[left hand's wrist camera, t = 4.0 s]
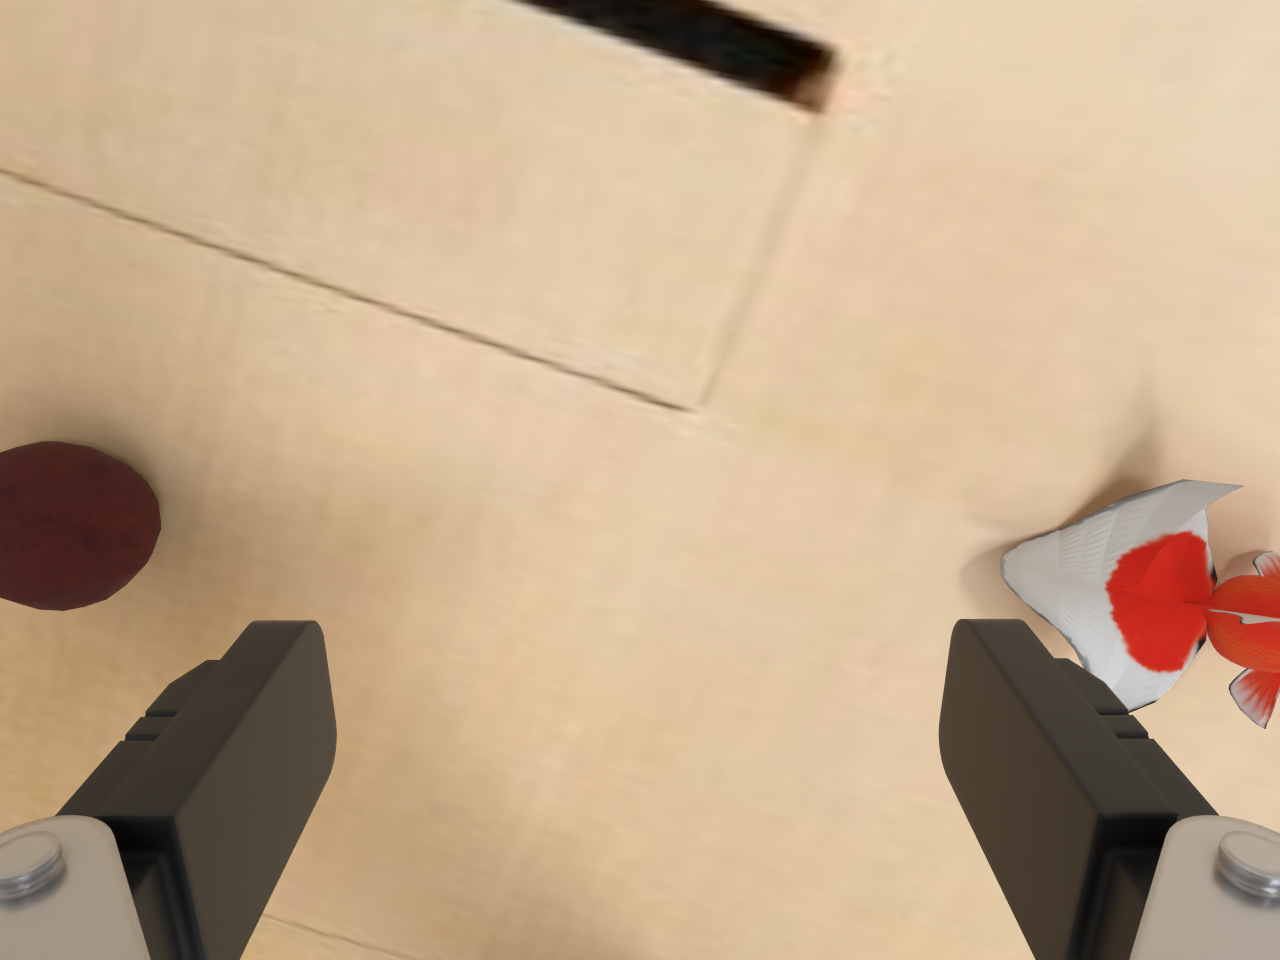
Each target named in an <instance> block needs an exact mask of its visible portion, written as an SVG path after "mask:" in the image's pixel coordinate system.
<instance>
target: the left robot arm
mask: <svg viewBox="0 0 1280 960" xmlns="http://www.w3.org/2000/svg"><path fill="white" fill-rule="evenodd" d="M125 736H126V737H125V741H120V742H119V743H118V744H117V745H116V746H115V747H114V749H113V750H112V751H111V752H110V753H109V754H108V755H107V757H106V758H105V759H104V760H103V761H102V762H101V764H100V765H99V766H98V767H97V768H96V769H95V770H94V772H93V773H92V774H91V775H90V776H89V777H88V779H87V780H86V781H85V782H84V783H83V784H82V785H81V787H80V788H79V789H78V790H77V791H76V792H75V794H74V795H73V796H72V797H71V798H70V799H69V800H68V802H67V803H66V804H65V805H64V806H63V807H62V808H61V810H60V811H59V812H58V813H57V814H56V815H55V817H48V818H44V819H40V820H35V821H32V822H29V823H25V824H22V825H19V826H17V827H14V828H12V829H9V830H7V831H4V832H2V833H0V960H240V958H241V956H242V954H243V952H244V949H245V947H246V945H247V943H248V941H249V939H250V937H251V935H252V933H253V931H254V929H255V927H256V925H257V923H258V921H259V919H260V917H261V915H262V913H263V911H264V909H265V907H266V905H267V903H268V900H269V898H270V896H271V894H272V892H273V890H274V888H275V886H276V884H277V882H278V880H279V878H280V876H281V874H282V872H283V870H284V868H285V866H286V864H287V862H288V860H289V858H290V856H291V853H292V851H293V849H294V847H295V845H296V843H297V841H298V839H299V837H300V835H301V833H302V831H303V829H304V827H305V825H306V823H307V821H308V819H309V817H310V815H311V813H312V811H313V809H314V807H315V804H316V802H317V800H318V798H319V796H320V794H321V792H322V790H323V788H324V786H325V784H326V782H327V780H328V778H329V775H330V773H331V770H332V766H333V762H334V757H335V751H336V739H337V730H336V720H335V713H334V706H333V698H332V691H331V684H330V677H329V670H328V663H327V656H326V649H325V642H324V636H323V632H322V629H321V627H320V625H319V624H318V623H317V622H316V621H253V622H252V623H250V624H249V625H248V626H247V628H246V629H245V630H244V631H243V632H242V634H241V635H240V636H239V637H238V639H237V640H236V641H235V642H234V644H233V645H232V646H231V647H230V649H229V650H228V651H227V652H226V653H225V655H224V656H223V657H222V658H221V660H206V661H205V662H203V663H202V664H200V665H199V666H197V667H195V668H194V669H192V670H191V671H189V672H188V673H186V674H184V675H183V676H181V677H180V678H178V679H176V680H175V681H173V682H172V683H170V684H169V685H168V686H167V687H166V689H165V690H164V691H163V692H162V693H161V694H160V696H159V697H158V698H157V699H156V700H155V701H154V702H153V704H152V705H151V706H150V707H149V708H148V709H147V711H146V715H145V717H140V719H139V720H138V721H137V722H136V723H135V724H134V726H133V727H132V728H131V729H130V730H129V731H128V732H127V734H126V735H125ZM939 746H940V753H941V759H942V763H943V767H944V770H945V773H946V775H947V777H948V780H949V782H950V784H951V786H952V788H953V790H954V792H955V794H956V796H957V798H958V800H959V802H960V804H961V806H962V808H963V811H964V813H965V815H966V817H967V819H968V821H969V823H970V825H971V827H972V829H973V831H974V833H975V835H976V837H977V839H978V842H979V844H980V846H981V848H982V850H983V852H984V854H985V856H986V858H987V860H988V862H989V864H990V866H991V868H992V871H993V873H994V875H995V877H996V879H997V881H998V883H999V885H1000V887H1001V889H1002V891H1003V893H1004V895H1005V897H1006V899H1007V902H1008V904H1009V906H1010V908H1011V910H1012V912H1013V914H1014V916H1015V918H1016V920H1017V922H1018V924H1019V926H1020V928H1021V930H1022V933H1023V935H1024V937H1025V939H1026V941H1027V943H1028V945H1029V947H1030V949H1031V951H1032V953H1033V955H1034V957H1035V959H1036V960H1280V833H1278V832H1276V831H1273V830H1271V829H1268V828H1266V827H1263V826H1261V825H1258V824H1255V823H1251V822H1248V821H1245V820H1240V819H1236V818H1232V817H1225V816H1219V815H1218V813H1217V812H1216V811H1215V810H1214V809H1213V808H1212V806H1211V805H1210V804H1209V803H1208V802H1207V801H1206V799H1205V798H1204V797H1203V796H1202V795H1201V794H1200V792H1199V791H1198V790H1197V789H1196V788H1195V787H1194V785H1193V784H1192V783H1191V782H1190V781H1189V780H1188V778H1187V777H1186V776H1185V775H1184V774H1183V773H1182V772H1181V770H1180V769H1179V768H1178V767H1177V766H1176V765H1175V763H1174V762H1173V761H1172V760H1171V759H1170V758H1169V756H1168V755H1167V754H1166V753H1165V752H1164V751H1163V749H1162V748H1161V747H1160V746H1159V745H1158V744H1157V742H1156V741H1155V740H1154V739H1149V737H1148V732H1147V731H1146V730H1145V728H1144V727H1143V726H1142V725H1141V724H1140V723H1139V721H1138V720H1137V719H1136V718H1135V717H1134V716H1133V715H1129V714H1128V709H1127V708H1126V706H1125V705H1124V704H1123V703H1122V702H1121V701H1120V699H1119V698H1118V697H1117V696H1116V695H1115V694H1114V692H1113V691H1112V690H1111V689H1110V688H1109V687H1108V685H1107V684H1106V683H1105V682H1104V681H1102V680H1101V679H1099V678H1097V677H1096V676H1094V675H1093V674H1091V673H1090V672H1088V671H1086V670H1085V669H1083V668H1082V667H1080V666H1079V665H1077V664H1075V663H1074V662H1072V661H1071V660H1069V659H1068V658H1053V656H1052V655H1051V654H1050V653H1049V651H1048V650H1047V649H1046V648H1045V646H1044V645H1043V644H1042V643H1041V641H1040V640H1039V639H1038V638H1037V636H1036V635H1035V634H1034V633H1033V631H1032V630H1031V629H1030V628H1029V626H1028V625H1027V624H1026V623H1025V622H1024V621H1022V620H1020V619H960V620H959V621H957V623H956V624H955V626H954V628H953V632H952V636H951V642H950V649H949V656H948V664H947V671H946V678H945V685H944V692H943V700H942V707H941V714H940V722H939Z"/></svg>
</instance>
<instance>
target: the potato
mask: <svg viewBox="0 0 1280 960" xmlns="http://www.w3.org/2000/svg"><path fill="white" fill-rule="evenodd" d="M160 530H161V520H160V513H159V505H158V500H157V498H156V497H155V495H154V493H153V491H152V490H151V488H150V486H149V485H148V483H147V482H146V481H145V480H144V479H143V478H142V477H141V476H140V475H139V474H137V473H136V472H135V471H134V470H133V469H132V468H131V467H130V466H128V465H126V464H124V463H122V462H120V461H118V460H116V459H114V458H112V457H109V456H107V455H105V454H103V453H101V452H99V451H97V450H95V449H93V448H91V447H86V446H80V445H74V444H69V443H63V442H39V443H34V444H29V445H25V446H20V447H16V448H13V449H10V450H7V451H4V452H1V453H0V598H3V599H6V600H9V601H13V602H16V603H19V604H22V605H26V606H29V607H33V608H36V609H42V610H58V611H65V610H70V609H75V608H80V607H85V606H88V605H91V604H94V603H97V602H100V601H103V600H106V599H108V598H109V597H110V596H112V595H113V594H114V593H116V592H117V591H119V590H120V589H121V588H123V587H124V586H125V585H126V584H127V583H128V582H129V581H130V580H131V579H132V578H133V577H134V576H135V575H136V574H137V573H138V572H139V571H140V570H141V569H142V568H143V567H144V566H145V565H146V564H147V562H148V560H149V558H150V557H151V555H152V553H153V550H154V547H155V544H156V541H157V539H158V536H159V533H160Z"/></svg>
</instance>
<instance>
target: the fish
mask: <svg viewBox="0 0 1280 960" xmlns="http://www.w3.org/2000/svg"><path fill="white" fill-rule="evenodd" d="M1241 487H1244V486H1240V485H1231V484H1221V483H1212V482H1203V481H1193V480H1184V479H1183V480H1180V481H1176V482H1173V483H1170V484H1166V485H1163V486H1160V487H1157V488H1153V489H1150V490H1147V491H1143V492H1140V493H1137V494H1134V495H1130V496H1127V497H1125V498H1123V499H1121V500H1118V501H1116V502H1114V503H1112V504H1110V505H1108V506H1106V507H1104V508H1102V509H1100V510H1098V511H1096V512H1094V513H1092V514H1090V515H1088V516H1086V517H1084V518H1082V519H1080V520H1078V521H1076V522H1074V523H1072V524H1070V525H1068V526H1066V527H1064V528H1062V529H1060V530H1057V531H1053V532H1050V533H1047V534H1043V535H1040V536H1037V537H1035V538H1033V539H1030V540H1028V541H1025V542H1023V543H1021V544H1019V545H1017V546H1015V547H1014V548H1012V549H1010V550H1008V551H1007V552H1006V553H1005V554H1004V555H1003V556H1002V557H1001V577H1002V578H1003V580H1004V581H1005V582H1006V584H1007V585H1008V586H1009V588H1010V589H1011V590H1012V591H1013V592H1014V593H1015V594H1016V595H1017V596H1018V597H1019V598H1020V599H1021V600H1022V601H1023V602H1025V603H1026V604H1027V605H1028V606H1029V607H1030V608H1031V609H1033V610H1034V611H1035V612H1036V613H1037V614H1038V615H1039V616H1041V617H1042V618H1043V619H1045V620H1046V621H1047V622H1048V623H1050V624H1051V625H1052V626H1054V627H1055V628H1056V629H1058V630H1059V631H1060V633H1061V634H1062V635H1063V636H1064V638H1065V639H1066V640H1067V641H1068V642H1069V644H1070V645H1071V646H1072V647H1073V648H1074V650H1075V652H1076V654H1077V656H1078V658H1079V660H1080V662H1081V664H1082V665H1083V667H1084V669H1085V670H1086V671H1088V672H1090V673H1091V674H1093V675H1094V676H1096V677H1097V678H1099V679H1101V680H1102V681H1104V682H1105V683H1106V684H1107V685H1108V687H1109V688H1110V689H1111V690H1112V691H1113V692H1114V694H1115V695H1116V696H1117V697H1118V698H1119V699H1120V701H1121V702H1122V703H1123V704H1124V705H1125V706H1126V708H1127V709H1128V713H1130V712H1133V711H1135V710H1137V709H1140V708H1142V707H1145V706H1147V705H1150V704H1152V703H1154V702H1156V701H1157V700H1158V699H1159V698H1160V697H1161V696H1163V695H1164V694H1165V693H1166V692H1167V691H1168V690H1169V689H1170V688H1171V687H1172V686H1173V685H1174V684H1175V682H1176V681H1177V680H1178V678H1179V677H1180V676H1181V675H1182V673H1183V672H1184V671H1185V669H1186V668H1187V666H1188V665H1189V664H1190V662H1191V661H1192V660H1193V658H1194V657H1195V655H1196V654H1197V653H1198V651H1199V650H1200V648H1201V647H1202V645H1203V644H1204V643H1205V641H1206V634H1207V633H1208V637H1209V639H1210V641H1211V643H1212V645H1213V646H1214V648H1215V649H1216V651H1217V652H1218V653H1219V654H1220V655H1222V656H1223V657H1224V658H1226V659H1228V660H1229V661H1231V662H1233V663H1235V664H1237V665H1240V666H1242V667H1245V668H1247V669H1245V670H1244V671H1243V672H1242V673H1241V674H1239V675H1238V676H1237V677H1236V678H1235V679H1234V680H1233V681H1232V682H1231V684H1230V685H1229V691H1230V694H1231V695H1232V697H1233V699H1234V700H1235V702H1236V704H1237V705H1238V707H1239V708H1240V710H1241V711H1242V712H1244V713H1245V714H1246V715H1247V716H1248V717H1249V718H1250V719H1251V720H1252V721H1253V722H1255V723H1256V724H1257V725H1259V726H1261V727H1263V728H1264V729H1266V725H1267V723H1268V721H1269V719H1270V717H1271V714H1272V712H1273V709H1274V707H1275V703H1276V699H1277V697H1278V695H1279V692H1280V555H1278V554H1277V553H1275V552H1273V551H1270V552H1264V553H1262V554H1260V555H1259V556H1257V557H1256V558H1255V559H1254V560H1253V564H1254V566H1255V567H1256V569H1257V571H1258V573H1259V575H1260V576H1257V575H1244V576H1238V577H1234V578H1232V579H1229V580H1227V581H1225V582H1224V583H1222V584H1221V585H1220V586H1218V587H1217V588H1216V589H1215V585H1216V582H1217V576H1216V572H1215V568H1214V564H1213V560H1212V556H1211V552H1210V548H1209V544H1208V521H1207V512H1206V507H1207V506H1208V505H1209V504H1211V503H1212V502H1214V501H1215V500H1217V499H1219V498H1220V497H1222V496H1224V495H1226V494H1227V493H1229V492H1231V491H1233V490H1236V489H1238V488H1241ZM1214 589H1215V590H1214Z"/></svg>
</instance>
